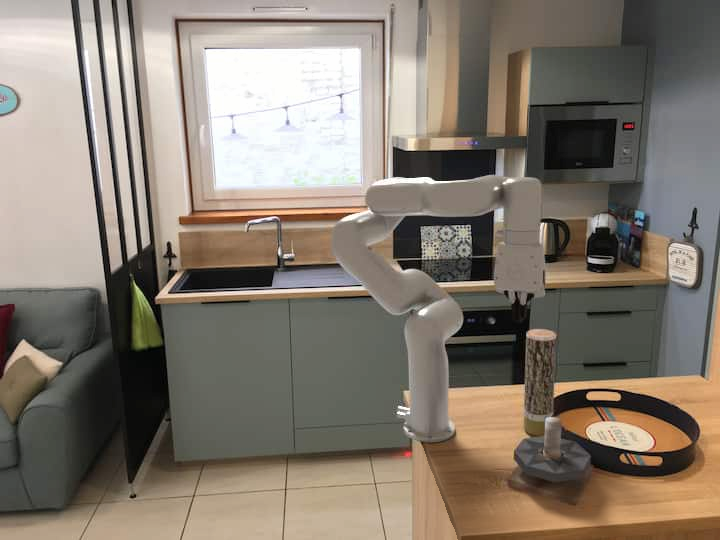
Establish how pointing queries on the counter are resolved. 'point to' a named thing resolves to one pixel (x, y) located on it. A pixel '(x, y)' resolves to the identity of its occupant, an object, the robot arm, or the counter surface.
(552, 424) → the pipe stand
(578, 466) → the grey octagonal disc
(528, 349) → the bark-covered log
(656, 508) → the counter surface
